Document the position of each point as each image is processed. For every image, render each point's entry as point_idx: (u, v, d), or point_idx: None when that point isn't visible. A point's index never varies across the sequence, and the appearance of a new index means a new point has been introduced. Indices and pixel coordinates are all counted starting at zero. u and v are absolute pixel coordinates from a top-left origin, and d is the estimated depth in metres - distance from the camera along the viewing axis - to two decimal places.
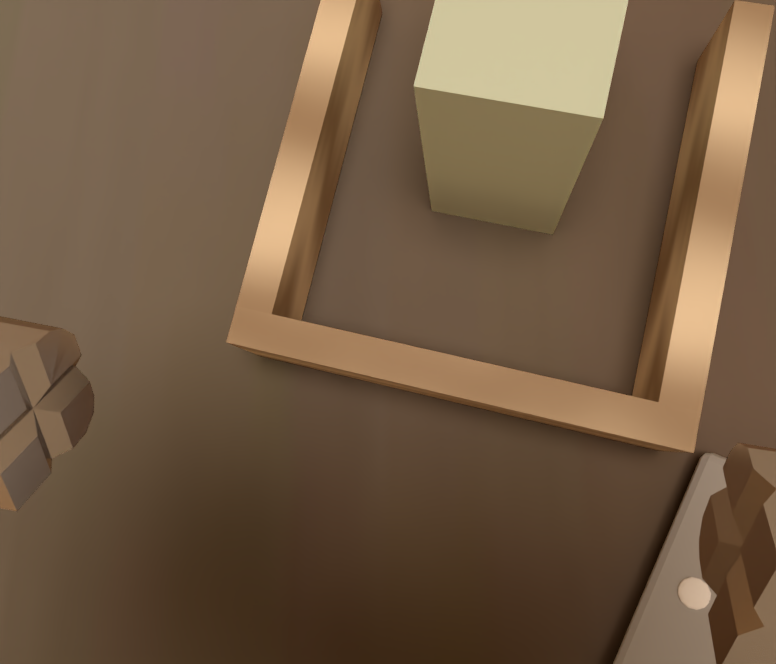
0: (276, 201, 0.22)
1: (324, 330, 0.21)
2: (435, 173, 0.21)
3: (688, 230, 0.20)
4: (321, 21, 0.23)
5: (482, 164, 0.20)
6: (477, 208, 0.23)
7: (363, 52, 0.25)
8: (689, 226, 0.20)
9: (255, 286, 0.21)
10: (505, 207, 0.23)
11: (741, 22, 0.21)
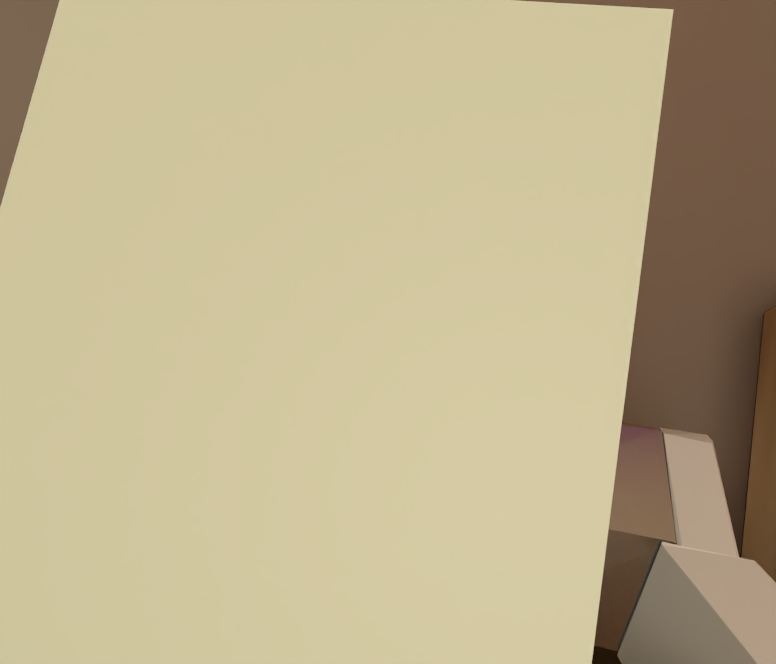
0: None
1: None
2: None
3: None
4: None
5: None
6: None
7: None
8: None
9: None
10: None
11: None
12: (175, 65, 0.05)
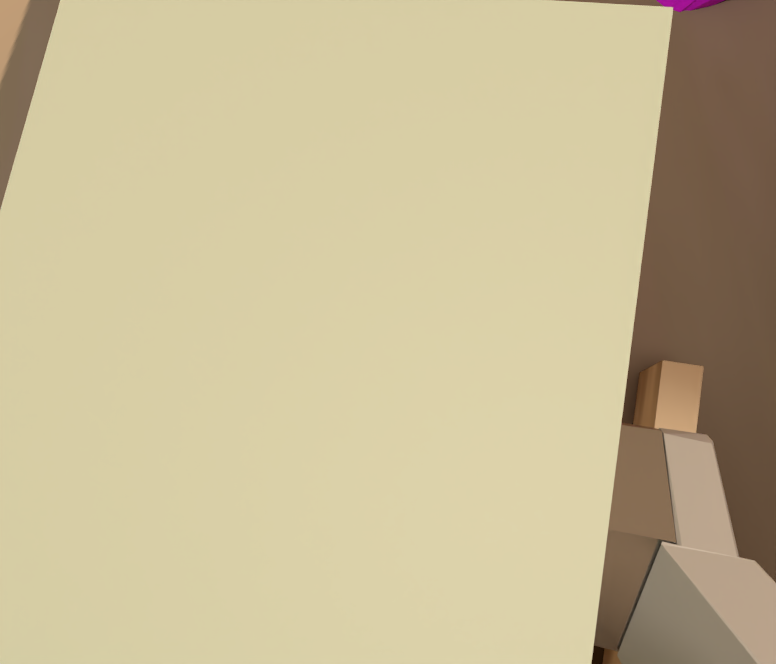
0: None
1: None
2: None
3: None
4: None
5: None
6: None
7: None
8: None
9: None
10: None
11: (670, 385, 0.21)
12: (176, 63, 0.05)
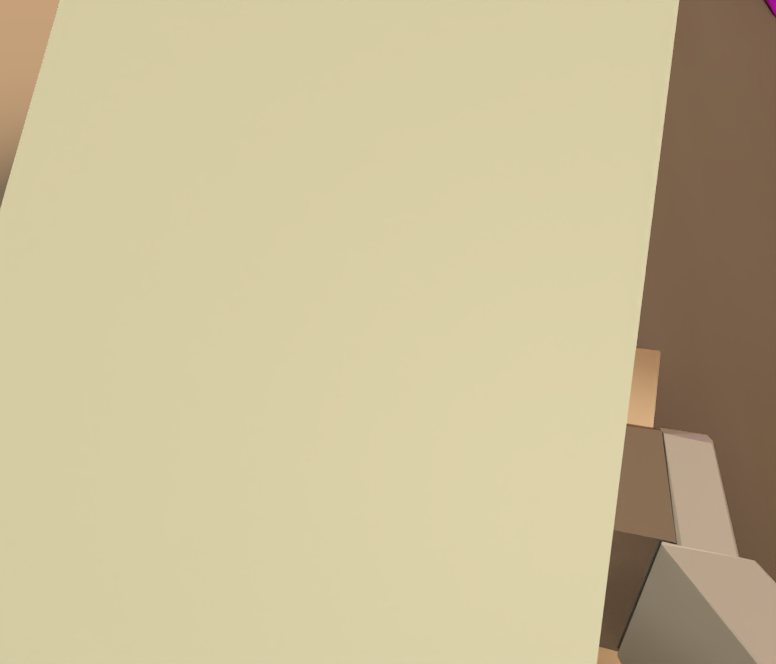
0: None
1: None
2: None
3: None
4: None
5: None
6: None
7: None
8: None
9: None
10: None
11: None
12: (179, 53, 0.05)
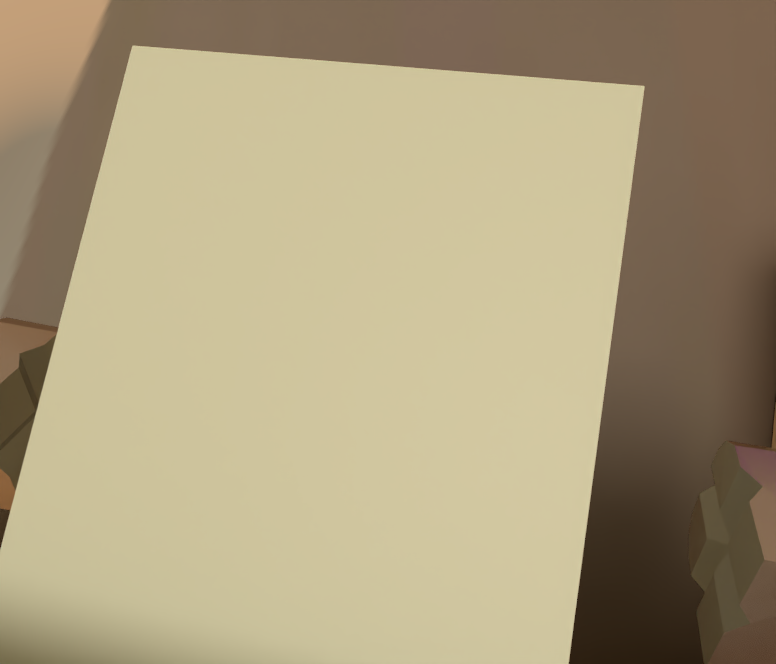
0: None
1: None
2: None
3: None
4: None
5: None
6: None
7: None
8: None
9: None
10: None
11: None
12: (227, 125, 0.06)
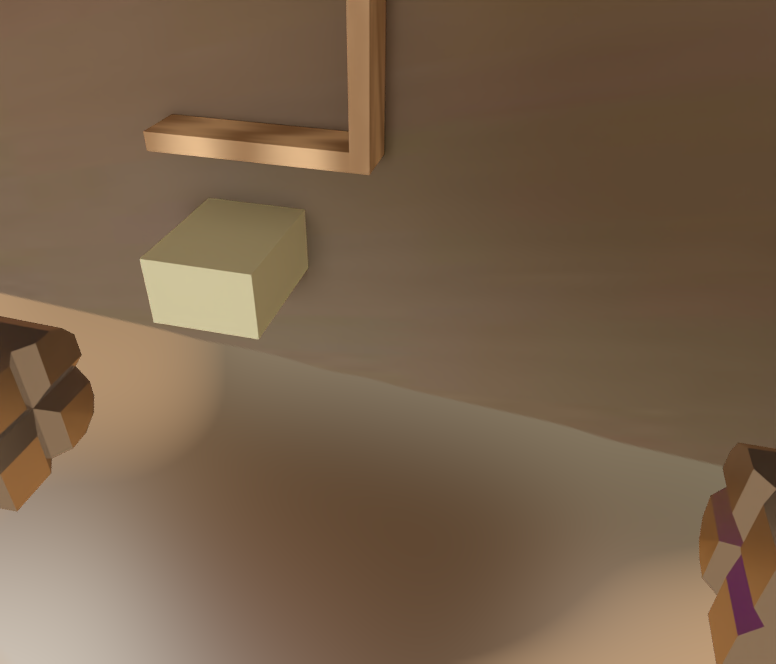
0: (289, 160, 0.39)
1: (350, 121, 0.37)
2: (289, 290, 0.45)
3: None
4: (189, 151, 0.41)
5: (280, 282, 0.43)
6: (300, 255, 0.46)
7: (197, 122, 0.42)
8: None
9: (336, 164, 0.39)
10: (296, 246, 0.45)
11: None
12: (160, 309, 0.41)
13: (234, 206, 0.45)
